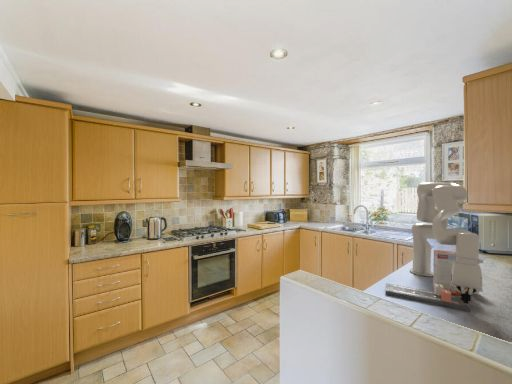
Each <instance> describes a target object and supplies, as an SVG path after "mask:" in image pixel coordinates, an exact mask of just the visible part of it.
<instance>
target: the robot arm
mask: <svg viewBox="0 0 512 384" xmlns="http://www.w3.org/2000/svg"><path fill="white" fill-rule="evenodd" d="M416 193H417V197H418V198H417V199H418V200H417V201H418V202H417V209H416V219H417V221H419V222H418V223H414V224H413V225H412V226H411V234H412V267H411V268H410V269H409V272H410V273H412V274H413V275H417V276H420V277H433V271H432V244H431V243H430V242H429V241H428V240H436V242H437V243H438V244H440V245H446V246H455V252H456V261H453V264H452V269H451V284H450V285H451V286H452V287H454V288H457V289H458V290H459V291H460V292H461V295H460V297H461V300H463V302H464V303H467V304H468V305H470V302H471V301H472V299H471V297H472V295H473V293H475V292H479V293H480V292H483V285H484V284H483V274H482V267H481V265H480V264H483V263H484V260H483V259H480V258H479V255H480V254H479V253H480V251H479V250H480V248H479V247H480V236H479V235H478V234H477V233H475V232H471V231H470V230H467V229H455V228H448V224H449V219H450V218H452V217H454V216H456V215H458V214H459V213H460V208H459V205H458V203H457V202H460V203H461V202H464V201H466V200H467V198H468V191H467V189H466V188H465V186H463V185H462V184H461V185H460V184H457V183H454V182H435V181H433V182H429V181H428V182H421V183H419V184H418V185H417V188H416ZM464 287H468V288H467V291H466V292H465V289H464Z"/></svg>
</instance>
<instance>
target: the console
mask: <svg viewBox="0 0 512 384" xmlns="http://www.w3.org/2000/svg"><path fill="white" fill-rule="evenodd" d="M386 294H388V295H387V296H391V295H392V296H391V297H395V298H399V299H404V300H405V299H407V300H411V301H415V302H421V303H425V304H430V305H435V306H440V307H445V308H449V309H455V310H460V311H464V312H469V313H470V312H471V307H470V304H467V303H464V302H463V300H461V296H460V295H454V294H451V303H450V302H445V301H442V299H441V295H436V294H435V292H434V291H430V290H425V289H420V288H414V287H408V286H404V285H398V284H392V283H386V284H385V295H386Z"/></svg>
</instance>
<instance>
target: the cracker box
mask: <svg viewBox="0 0 512 384" xmlns="http://www.w3.org/2000/svg"><path fill="white" fill-rule="evenodd" d="M453 261H456V251H453V250H441V249H433V271H432V272H433V276H432V277H433V282H432V283H433V284H432V285H433V287H432V289H433V290H434V283H435V284H441V285H442V286H443V287H444V289H443V290H449V291H450V292H451V295H453V296H461V292H460V291H459V290H458V289H457V288H454V287H452V286H451V285H450V284H451V269H452V264H453ZM467 288H468V287H464V289H465V292H466V291H467Z"/></svg>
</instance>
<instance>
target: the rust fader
mask: <svg viewBox="0 0 512 384" xmlns="http://www.w3.org/2000/svg"><path fill="white" fill-rule="evenodd" d="M451 295H452V294H451V292H450V291H449V290H443V289H441V299H442V301H445V302H450V303H451Z"/></svg>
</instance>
